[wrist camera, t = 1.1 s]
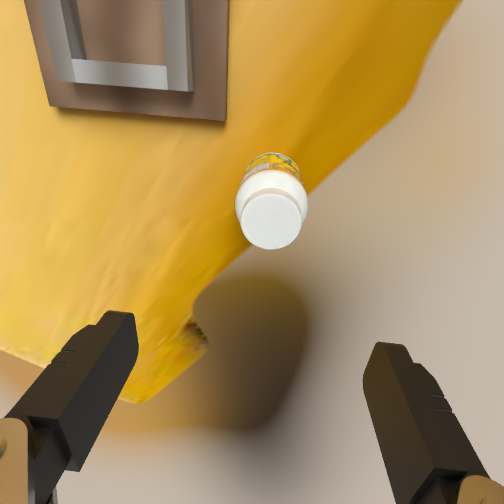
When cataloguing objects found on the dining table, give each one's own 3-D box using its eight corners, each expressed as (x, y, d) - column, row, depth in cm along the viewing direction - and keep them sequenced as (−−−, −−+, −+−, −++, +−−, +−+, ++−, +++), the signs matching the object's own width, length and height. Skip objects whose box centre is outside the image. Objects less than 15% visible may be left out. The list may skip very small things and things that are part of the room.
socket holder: (232, -124, 18) (224, -158, 16) (226, 119, 25) (220, 123, 23) (1, -136, 19) (-43, -172, 16) (57, 105, 26) (32, 107, 23)
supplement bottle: (233, 170, 27) (213, 207, 19) (285, 139, 26) (288, 165, 17) (261, 217, 30) (255, 270, 21) (311, 192, 28) (326, 238, 19)
